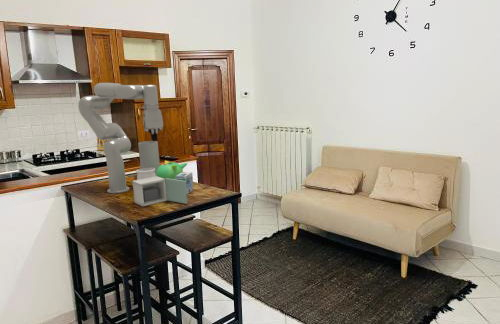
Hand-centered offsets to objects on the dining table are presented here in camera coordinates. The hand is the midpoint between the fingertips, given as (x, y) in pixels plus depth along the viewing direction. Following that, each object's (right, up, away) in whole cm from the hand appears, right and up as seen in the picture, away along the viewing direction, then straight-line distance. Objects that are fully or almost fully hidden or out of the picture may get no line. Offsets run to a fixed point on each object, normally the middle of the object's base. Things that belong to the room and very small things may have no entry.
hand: (154, 140), depth 210 cm
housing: (0, -33, -8) cm, 34 cm away
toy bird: (+3, -26, +30) cm, 40 cm away
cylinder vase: (-14, -24, +45) cm, 53 cm away
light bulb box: (+16, -30, +9) cm, 35 cm away
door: (+15, -33, -11) cm, 38 cm away
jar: (-5, -31, +6) cm, 32 cm away
